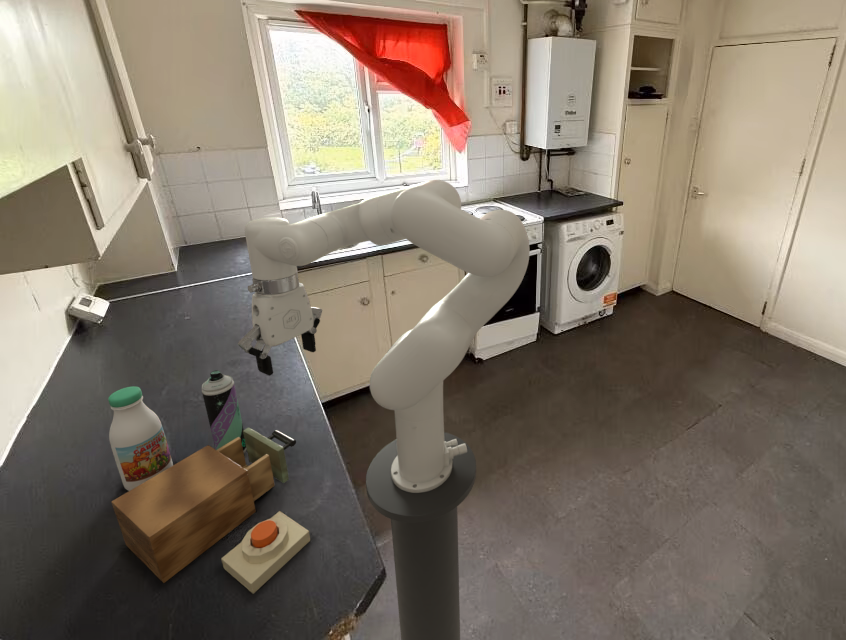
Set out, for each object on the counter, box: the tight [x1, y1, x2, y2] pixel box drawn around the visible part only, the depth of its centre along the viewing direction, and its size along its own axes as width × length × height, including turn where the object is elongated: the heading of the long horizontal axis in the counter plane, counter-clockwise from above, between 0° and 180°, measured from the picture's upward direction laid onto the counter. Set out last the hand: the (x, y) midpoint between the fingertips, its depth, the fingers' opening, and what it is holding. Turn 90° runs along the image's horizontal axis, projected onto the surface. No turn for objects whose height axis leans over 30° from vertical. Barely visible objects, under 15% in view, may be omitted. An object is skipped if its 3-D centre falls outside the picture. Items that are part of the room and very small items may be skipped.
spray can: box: [201, 369, 247, 454], centre depth 89 cm, size 6×6×20 cm
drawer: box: [217, 427, 297, 502], centre depth 81 cm, size 18×11×8 cm, turn 151°
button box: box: [221, 510, 311, 595], centre depth 70 cm, size 10×8×4 cm
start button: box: [251, 519, 278, 548], centre depth 69 cm, size 4×4×2 cm
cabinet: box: [111, 444, 257, 584], centre depth 73 cm, size 15×13×10 cm
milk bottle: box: [107, 386, 174, 492], centre depth 82 cm, size 8×8×20 cm
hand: (289, 361), depth 86 cm, fingers open, 9 cm apart
